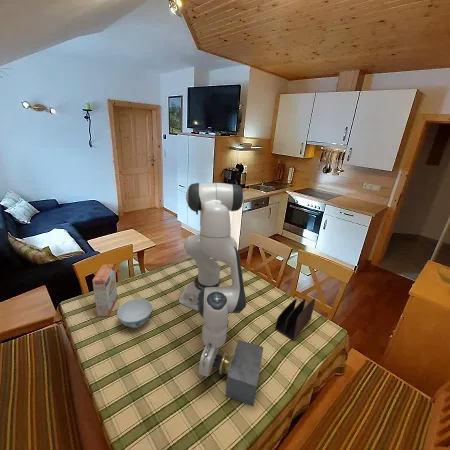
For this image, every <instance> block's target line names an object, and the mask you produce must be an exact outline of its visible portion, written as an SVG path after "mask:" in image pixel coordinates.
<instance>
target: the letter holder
mask: <svg viewBox="0 0 450 450" xmlns="http://www.w3.org/2000/svg"><path fill="white" fill-rule="evenodd" d="M297 302H298V301H297V298H295V299H294V300H292V301H291V302H290V303H289V304H288V305H287V306H286V307H285V308H284V309H283V310H282V311H281V313H280V314H279V315H278V317H277V319H276V322H275V326H274V330H275V331H277V332H279V333H280V334H281V335H283V336H285V337H286V338H288V339H289V340H291V341H293V342H295V340H296V339H297V338H298V336H299V335H300V333H301V332H302V331H303V330H304V329H305V327H306V326H307V325H308V323H309V322H310V320H312V315H313V311H314V307H315V303H316V299H315V298H312V299H311V301H309V302H308V303H307V304H306V299H305V298H304V299H303V300H301V302H300V303H298V304H297V305H296V303H297ZM305 304H306V306H305Z"/></svg>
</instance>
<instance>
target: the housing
mask: <svg viewBox="0 0 450 450" xmlns="http://www.w3.org/2000/svg"><path fill="white" fill-rule="evenodd" d="M263 352H264V346H262V345H261V346H260V345H257V344H254V343H251V342H249V341H248V342H247V341H244V340H241V339H238V341H237V344H236V347H235V350H234V354H233V356H232V357H233V360H232V363H231V367H230V370H229V373H228V374H227V378H226V379H227V380H226V386H225V387H226V388H225V397H227V398H230V399H231V400H235V401H237V402H240V403H243V404H247V405H249V406H252V407H254V405H255V399H256V393H257V387H258V383H259V382H258V381H259V378H260V377H259V376H260V371H261V365H262V359H263V355H264V354H263Z"/></svg>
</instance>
